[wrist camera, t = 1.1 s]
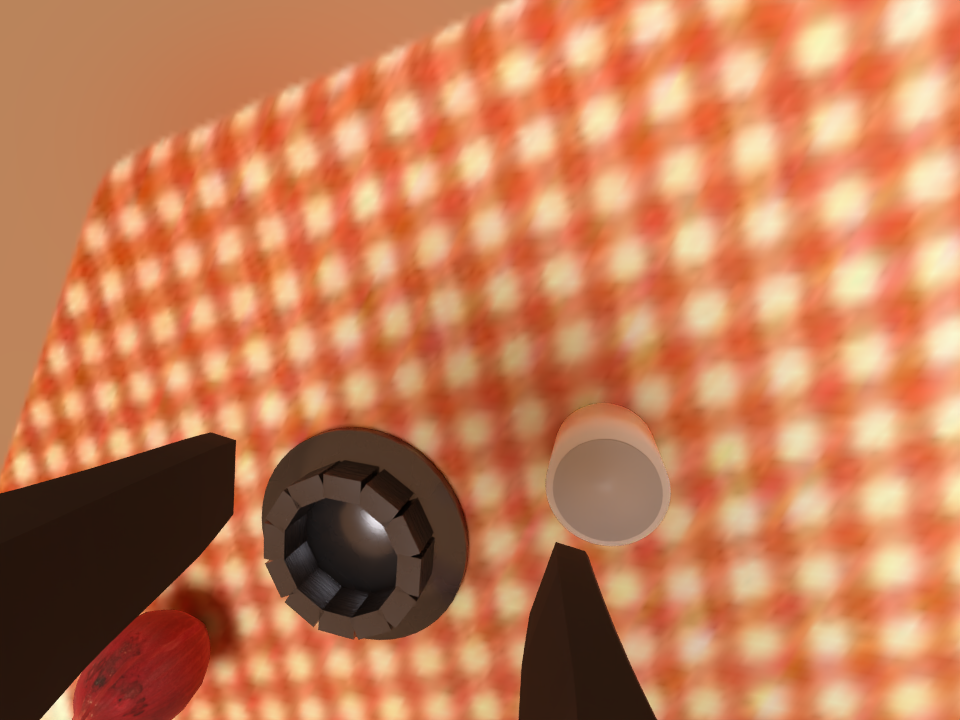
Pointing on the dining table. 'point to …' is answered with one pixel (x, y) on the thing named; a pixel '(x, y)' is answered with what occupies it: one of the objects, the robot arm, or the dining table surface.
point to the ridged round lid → (363, 535)
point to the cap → (607, 476)
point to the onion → (145, 670)
